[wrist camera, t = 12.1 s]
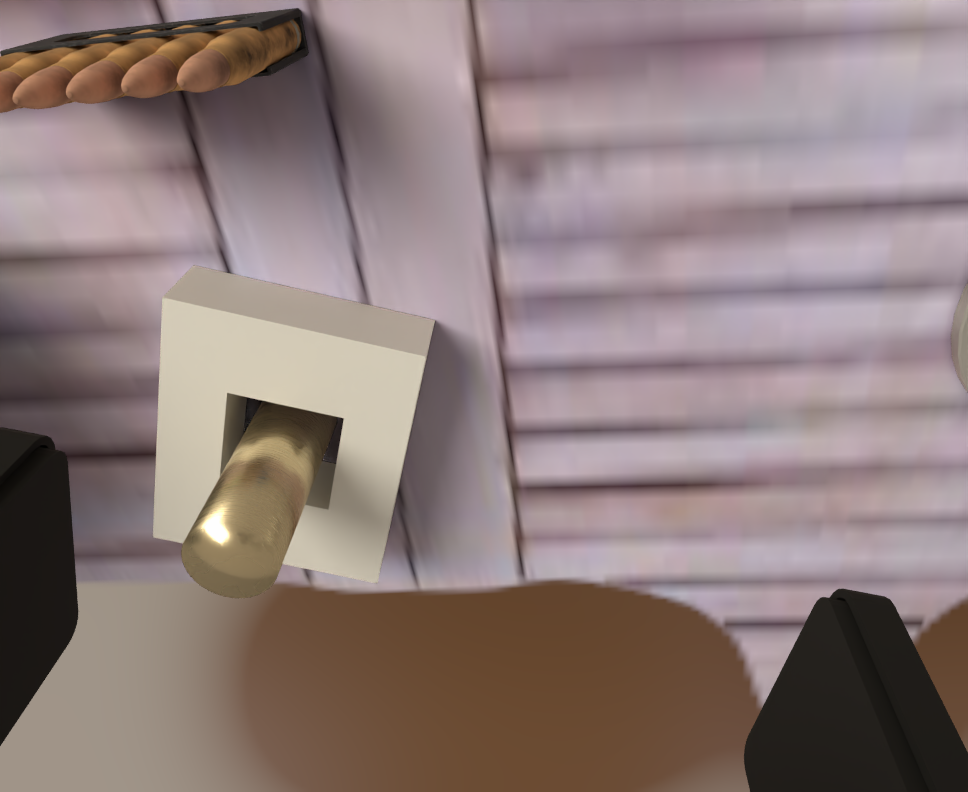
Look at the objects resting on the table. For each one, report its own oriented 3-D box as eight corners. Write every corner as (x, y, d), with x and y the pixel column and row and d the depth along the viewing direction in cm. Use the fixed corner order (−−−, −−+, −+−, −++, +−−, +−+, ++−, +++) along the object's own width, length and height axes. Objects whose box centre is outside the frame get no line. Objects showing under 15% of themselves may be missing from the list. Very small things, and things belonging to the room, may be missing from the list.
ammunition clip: (72, 80, 38) (-106, 144, 27) (57, 35, 37) (-132, 83, 26) (309, 55, 37) (219, 111, 26) (300, 7, 36) (203, 47, 25)
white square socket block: (435, 320, 42) (426, 356, 39) (388, 536, 49) (377, 583, 46) (193, 265, 42) (162, 297, 38) (180, 492, 48) (152, 537, 45)
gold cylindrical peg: (342, 388, 45) (283, 534, 34) (332, 450, 46) (273, 606, 36) (266, 371, 44) (183, 512, 34) (259, 434, 46) (179, 587, 36)
